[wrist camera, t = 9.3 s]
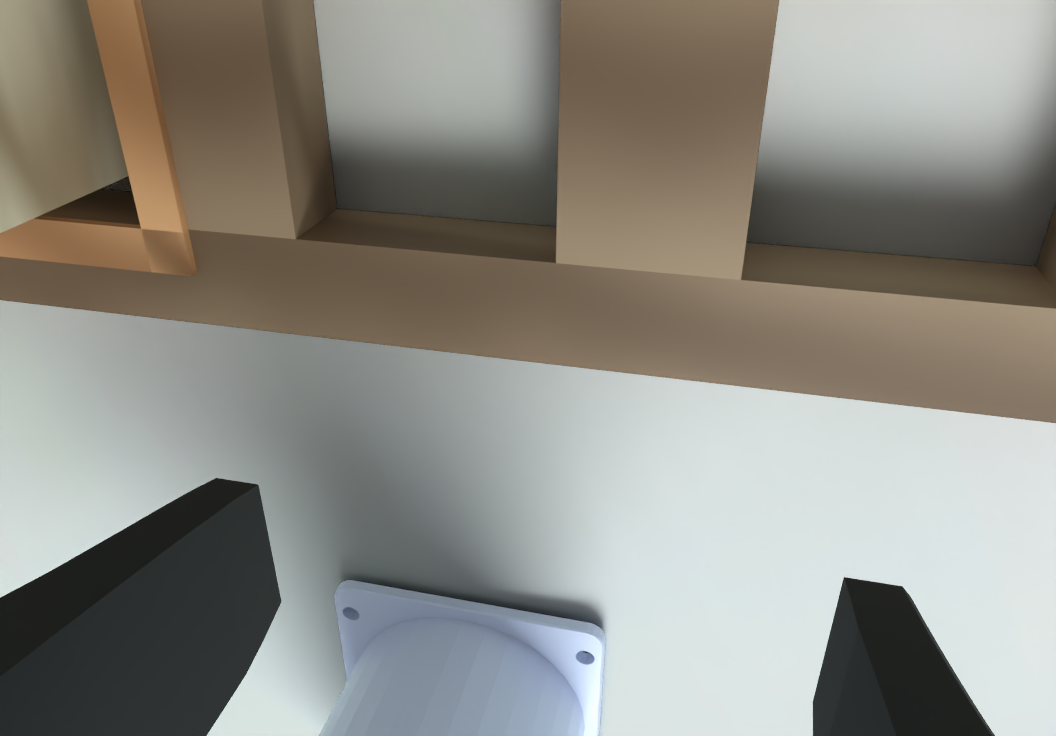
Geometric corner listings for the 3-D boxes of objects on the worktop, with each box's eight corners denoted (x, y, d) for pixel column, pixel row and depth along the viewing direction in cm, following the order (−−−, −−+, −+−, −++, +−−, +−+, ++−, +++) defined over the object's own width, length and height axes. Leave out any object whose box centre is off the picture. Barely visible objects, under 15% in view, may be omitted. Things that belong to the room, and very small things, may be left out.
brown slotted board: (1181, 387, 16) (1236, 449, 15) (-74, 254, 23) (-149, 286, 21) (1459, -233, 12) (1594, -258, 10) (-240, -189, 18) (-359, -200, 16)
